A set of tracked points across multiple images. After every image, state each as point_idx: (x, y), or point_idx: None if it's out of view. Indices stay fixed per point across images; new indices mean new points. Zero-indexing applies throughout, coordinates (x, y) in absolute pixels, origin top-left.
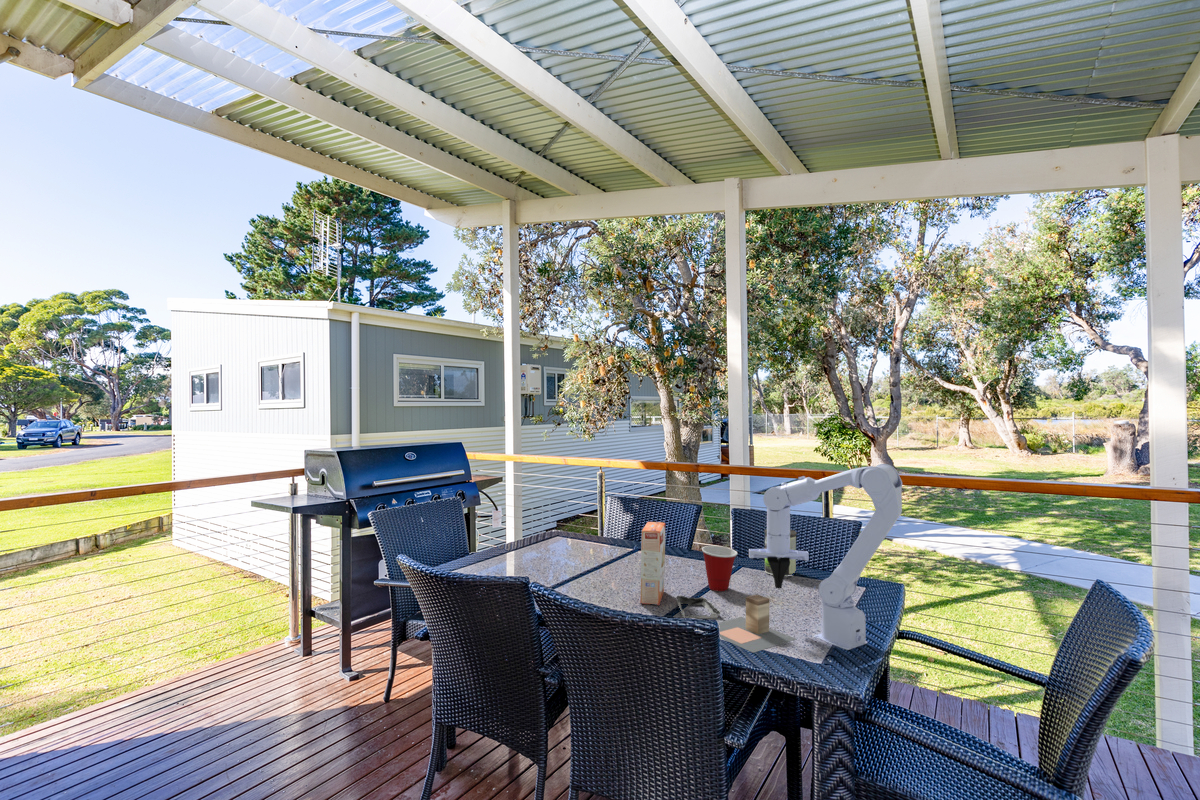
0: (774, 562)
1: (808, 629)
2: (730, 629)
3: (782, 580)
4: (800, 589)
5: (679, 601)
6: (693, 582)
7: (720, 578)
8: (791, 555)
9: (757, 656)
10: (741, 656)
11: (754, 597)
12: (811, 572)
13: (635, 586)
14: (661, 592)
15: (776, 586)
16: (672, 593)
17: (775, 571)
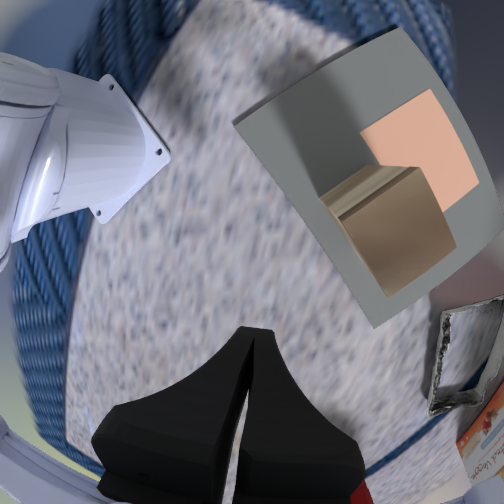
0: (303, 467)
1: (171, 239)
2: (442, 209)
3: (224, 348)
4: None
5: (475, 394)
6: (376, 487)
7: None
8: (41, 490)
9: (387, 17)
10: (427, 25)
11: (419, 242)
12: None
13: None
14: (501, 406)
15: (271, 333)
16: (448, 439)
17: (281, 398)
